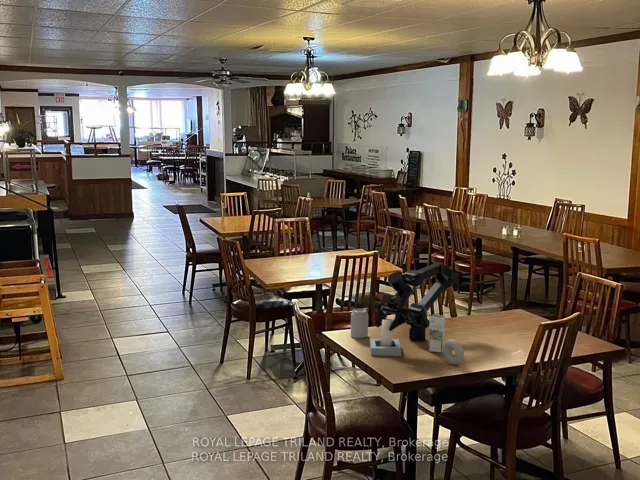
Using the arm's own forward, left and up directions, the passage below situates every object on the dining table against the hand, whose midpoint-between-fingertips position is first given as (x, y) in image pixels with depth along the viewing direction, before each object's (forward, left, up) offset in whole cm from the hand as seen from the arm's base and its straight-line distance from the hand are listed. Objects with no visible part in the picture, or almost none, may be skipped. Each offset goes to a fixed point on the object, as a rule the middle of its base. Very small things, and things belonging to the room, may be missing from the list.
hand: (383, 328), depth 257 cm
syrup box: (-22, -2, -10) cm, 24 cm away
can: (+9, -19, -10) cm, 23 cm away
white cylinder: (-1, -1, -9) cm, 9 cm away
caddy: (-1, -1, -10) cm, 10 cm away
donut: (-26, +14, -10) cm, 31 cm away
